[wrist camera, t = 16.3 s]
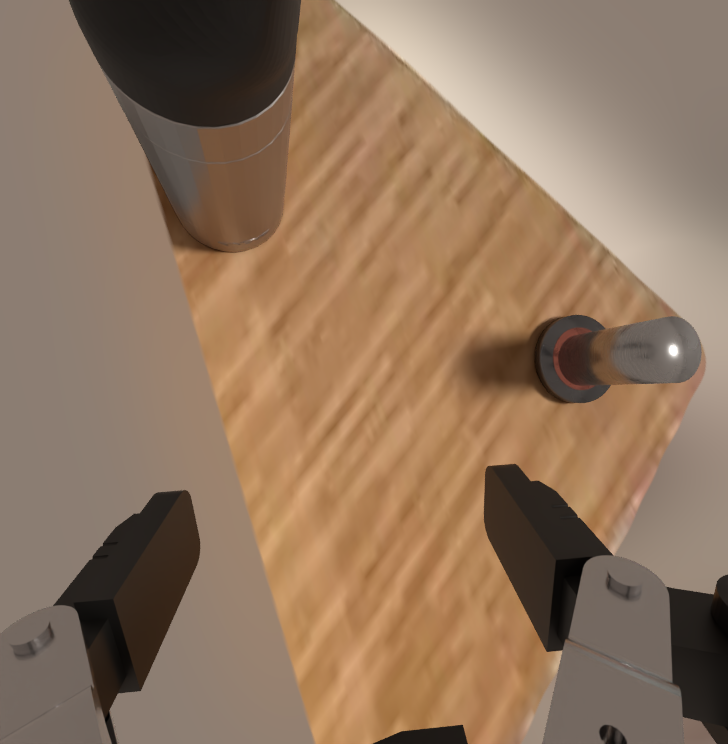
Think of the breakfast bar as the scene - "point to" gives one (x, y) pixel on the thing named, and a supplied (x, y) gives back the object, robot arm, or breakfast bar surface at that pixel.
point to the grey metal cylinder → (632, 354)
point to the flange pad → (550, 366)
